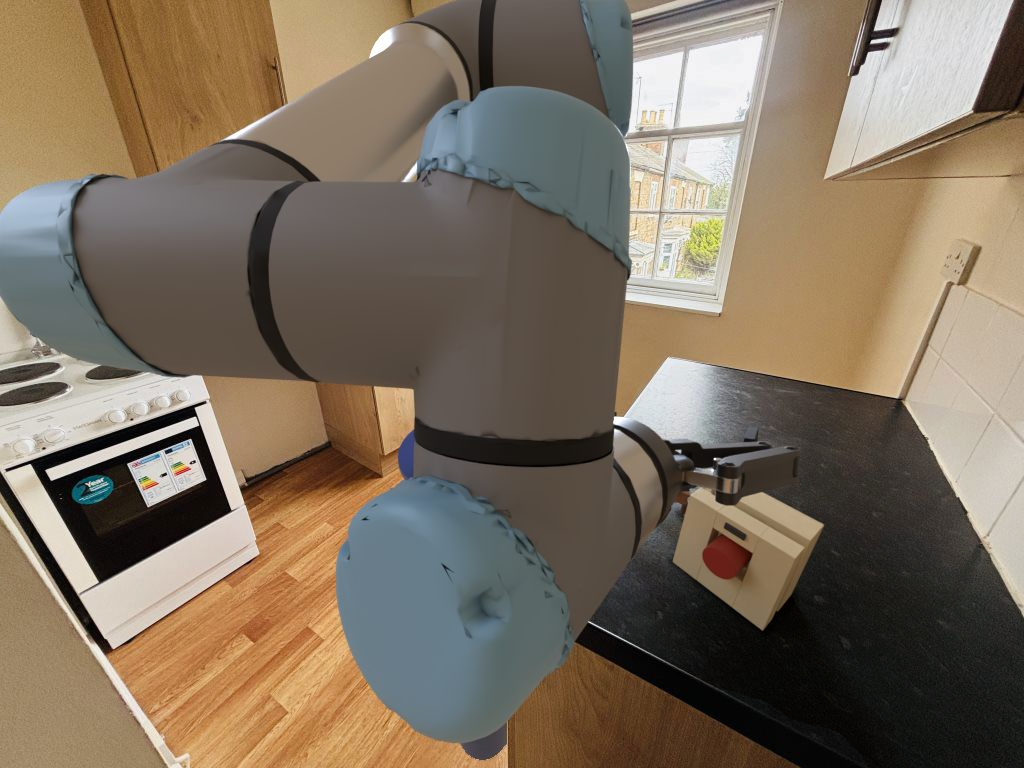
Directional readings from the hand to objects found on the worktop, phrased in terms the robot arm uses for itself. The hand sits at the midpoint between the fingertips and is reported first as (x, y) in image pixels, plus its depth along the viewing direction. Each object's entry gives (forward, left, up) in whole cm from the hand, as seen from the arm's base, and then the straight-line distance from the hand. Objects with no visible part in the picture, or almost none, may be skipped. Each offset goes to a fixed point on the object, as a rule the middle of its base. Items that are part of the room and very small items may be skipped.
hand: (676, 431), depth 42 cm
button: (+6, +7, -19) cm, 21 cm away
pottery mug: (-7, +12, -24) cm, 28 cm away
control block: (+6, +11, -24) cm, 27 cm away
